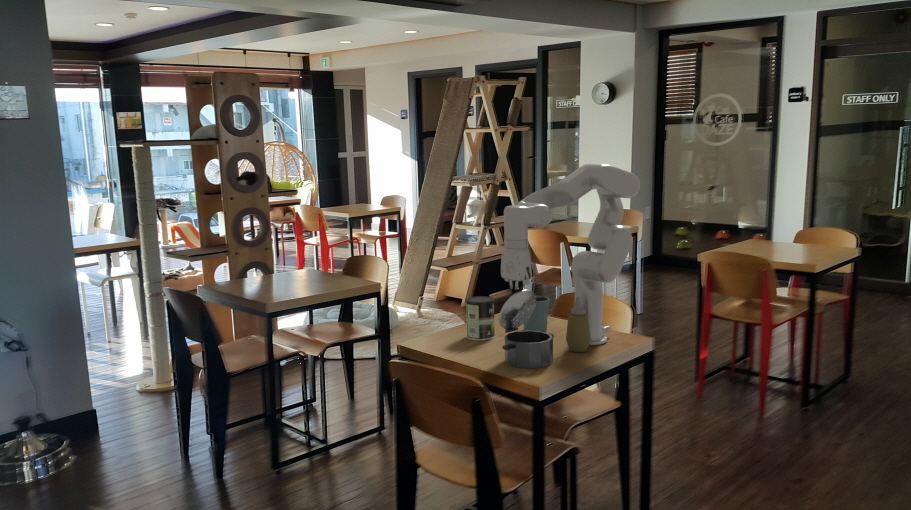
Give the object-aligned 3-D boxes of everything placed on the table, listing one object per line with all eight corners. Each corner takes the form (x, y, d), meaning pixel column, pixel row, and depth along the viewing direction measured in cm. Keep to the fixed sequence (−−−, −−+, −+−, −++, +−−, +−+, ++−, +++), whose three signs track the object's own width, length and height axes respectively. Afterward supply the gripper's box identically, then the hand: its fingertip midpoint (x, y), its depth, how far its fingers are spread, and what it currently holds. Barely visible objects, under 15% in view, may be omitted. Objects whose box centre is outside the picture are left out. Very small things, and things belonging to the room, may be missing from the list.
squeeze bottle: (585, 355, 231) (585, 301, 228) (562, 351, 235) (561, 299, 233) (594, 348, 238) (594, 296, 235) (571, 345, 242) (571, 294, 239)
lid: (528, 327, 236) (523, 323, 238) (541, 287, 229) (535, 282, 231) (495, 336, 227) (489, 331, 229) (507, 294, 220) (501, 289, 222)
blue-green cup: (517, 331, 262) (517, 299, 260) (529, 325, 270) (529, 294, 268) (542, 334, 256) (542, 302, 254) (553, 328, 265) (553, 296, 263)
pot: (534, 349, 239) (534, 326, 238) (568, 359, 227) (568, 335, 226) (488, 362, 227) (487, 338, 225) (521, 373, 215) (521, 348, 213)
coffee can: (496, 333, 260) (496, 296, 258) (492, 341, 250) (491, 302, 248) (469, 332, 262) (468, 295, 260) (464, 340, 252) (463, 302, 250)
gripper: (491, 243, 228) (493, 298, 231) (523, 248, 217) (524, 306, 220) (509, 240, 233) (510, 295, 236) (541, 245, 221) (541, 302, 224)
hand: (517, 300), depth 228 cm, fingers closed
